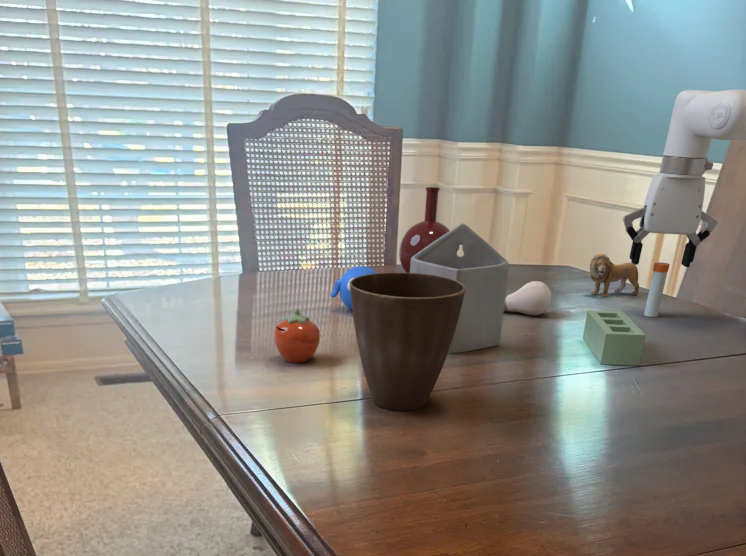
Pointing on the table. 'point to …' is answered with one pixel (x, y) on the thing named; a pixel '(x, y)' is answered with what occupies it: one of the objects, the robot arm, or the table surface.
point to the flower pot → (404, 333)
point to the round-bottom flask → (422, 231)
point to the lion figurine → (612, 274)
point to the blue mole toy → (344, 283)
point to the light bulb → (529, 299)
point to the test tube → (656, 289)
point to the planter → (469, 284)
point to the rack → (613, 338)
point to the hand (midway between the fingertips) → (659, 264)
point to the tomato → (296, 338)
